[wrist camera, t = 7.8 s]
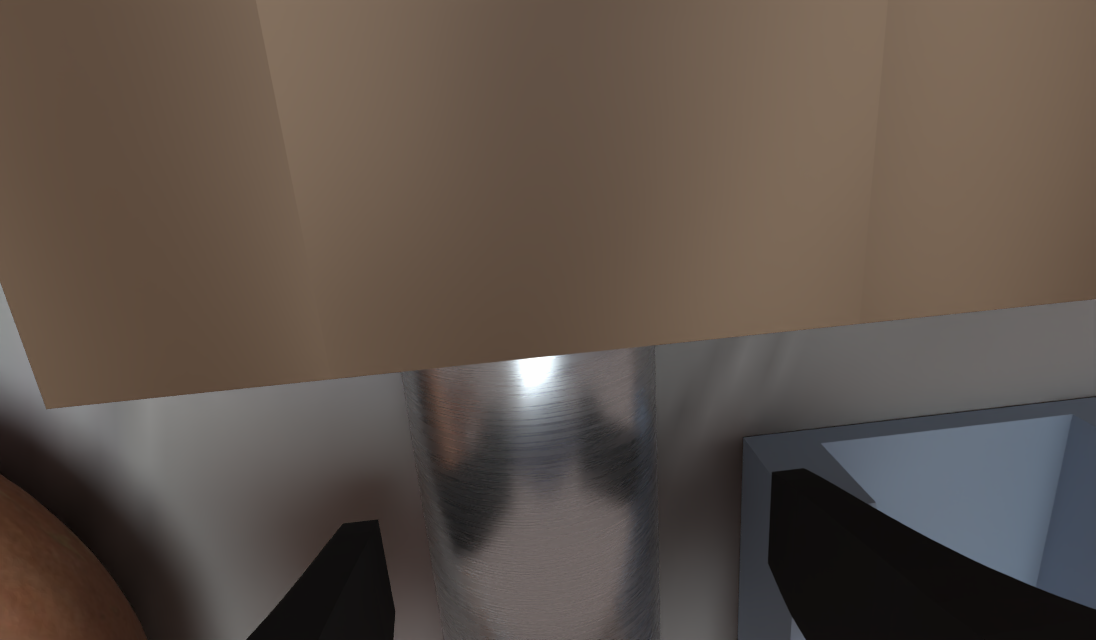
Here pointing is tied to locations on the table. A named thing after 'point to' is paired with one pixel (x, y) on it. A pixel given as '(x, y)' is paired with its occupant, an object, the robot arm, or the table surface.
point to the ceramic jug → (54, 579)
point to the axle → (541, 495)
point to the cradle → (943, 495)
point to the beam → (522, 178)
